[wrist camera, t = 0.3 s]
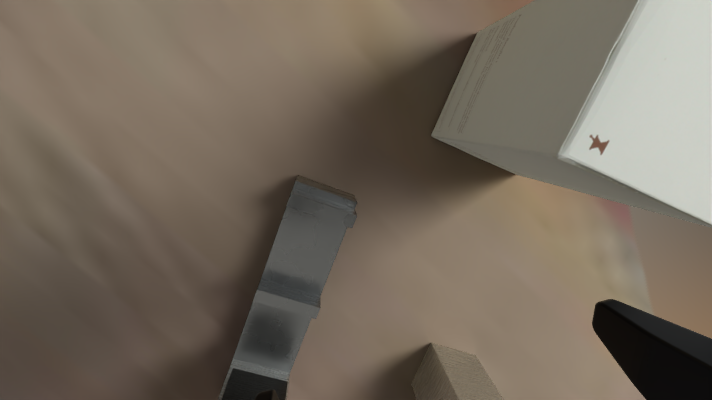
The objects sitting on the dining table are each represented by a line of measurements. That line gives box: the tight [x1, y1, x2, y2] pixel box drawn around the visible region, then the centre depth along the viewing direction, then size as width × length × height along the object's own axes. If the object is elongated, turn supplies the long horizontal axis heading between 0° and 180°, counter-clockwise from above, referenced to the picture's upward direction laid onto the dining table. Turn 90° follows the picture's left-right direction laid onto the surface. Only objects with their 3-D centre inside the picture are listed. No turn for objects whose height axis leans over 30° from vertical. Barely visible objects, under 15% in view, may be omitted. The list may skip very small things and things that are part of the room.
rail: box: [218, 175, 357, 400], centre depth 20 cm, size 18×4×8 cm, turn 159°
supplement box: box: [431, 0, 712, 227], centre depth 16 cm, size 7×7×13 cm
